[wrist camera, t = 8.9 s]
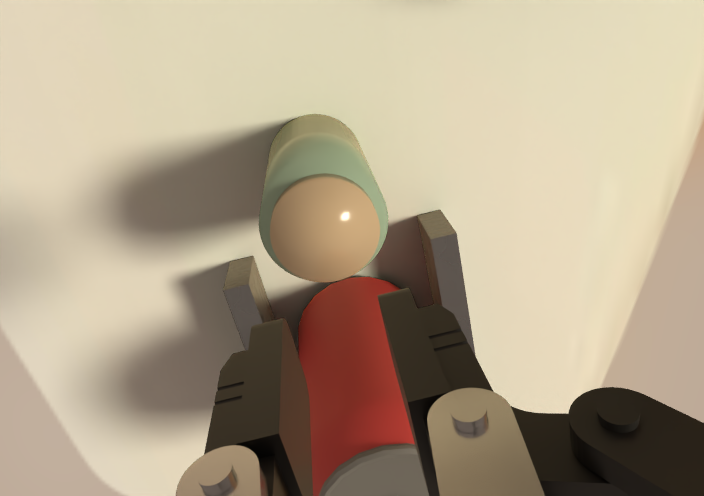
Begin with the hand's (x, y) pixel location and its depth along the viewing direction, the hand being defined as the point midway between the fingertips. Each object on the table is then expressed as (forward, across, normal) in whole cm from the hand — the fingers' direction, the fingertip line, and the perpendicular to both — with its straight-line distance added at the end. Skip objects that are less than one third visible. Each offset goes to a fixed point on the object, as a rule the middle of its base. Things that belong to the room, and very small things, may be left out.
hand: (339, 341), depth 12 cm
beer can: (+15, 0, +10) cm, 18 cm away
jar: (+15, 0, 0) cm, 15 cm away
